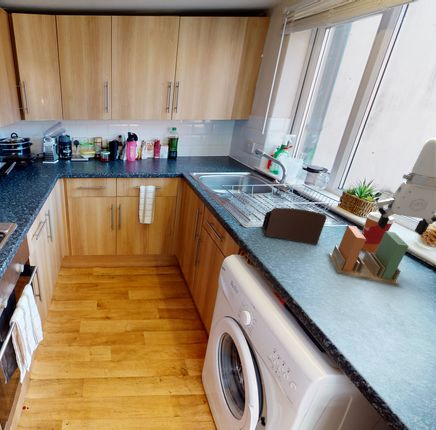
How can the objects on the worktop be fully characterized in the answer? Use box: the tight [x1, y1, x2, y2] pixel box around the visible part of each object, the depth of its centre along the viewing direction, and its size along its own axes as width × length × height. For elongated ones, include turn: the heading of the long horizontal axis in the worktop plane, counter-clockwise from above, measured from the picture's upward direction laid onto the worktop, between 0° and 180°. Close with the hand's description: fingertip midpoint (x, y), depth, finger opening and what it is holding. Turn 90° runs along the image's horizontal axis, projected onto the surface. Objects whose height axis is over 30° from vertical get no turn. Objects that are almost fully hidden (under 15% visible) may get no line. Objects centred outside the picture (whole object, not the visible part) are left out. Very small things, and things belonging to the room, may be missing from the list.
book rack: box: [328, 245, 402, 287], centre depth 101 cm, size 17×13×5 cm
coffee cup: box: [361, 211, 395, 254], centre depth 112 cm, size 8×8×15 cm
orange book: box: [338, 224, 366, 271], centre depth 101 cm, size 3×10×13 cm, turn 157°
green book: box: [374, 231, 409, 279], centre depth 98 cm, size 3×10×13 cm, turn 157°
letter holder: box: [261, 207, 327, 246], centre depth 122 cm, size 10×20×14 cm, turn 71°
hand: (399, 230), depth 94 cm, fingers open, 9 cm apart
